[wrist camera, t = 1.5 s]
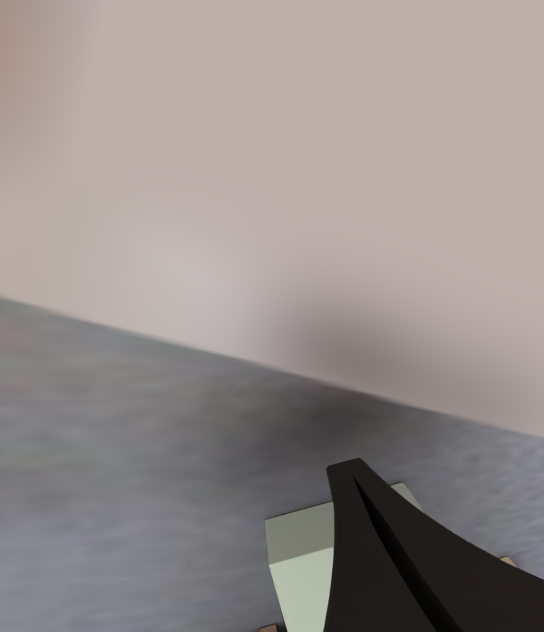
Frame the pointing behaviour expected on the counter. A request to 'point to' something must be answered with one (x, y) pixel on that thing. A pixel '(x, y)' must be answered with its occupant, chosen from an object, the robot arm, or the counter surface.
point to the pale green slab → (306, 562)
